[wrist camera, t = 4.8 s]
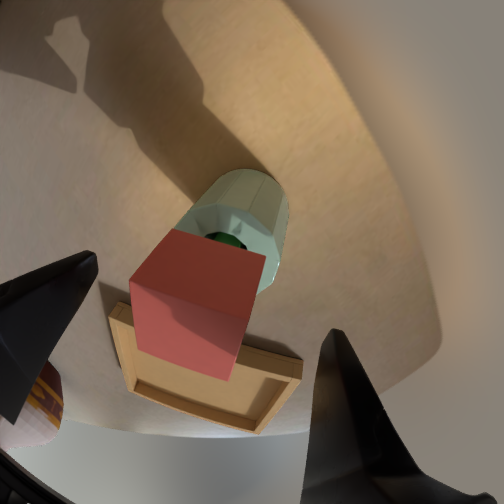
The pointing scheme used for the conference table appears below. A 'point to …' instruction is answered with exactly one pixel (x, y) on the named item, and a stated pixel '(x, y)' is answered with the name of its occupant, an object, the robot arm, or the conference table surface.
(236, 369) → the tray
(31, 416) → the jug
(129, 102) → the conference table surface
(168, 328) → the cube with green stem
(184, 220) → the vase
